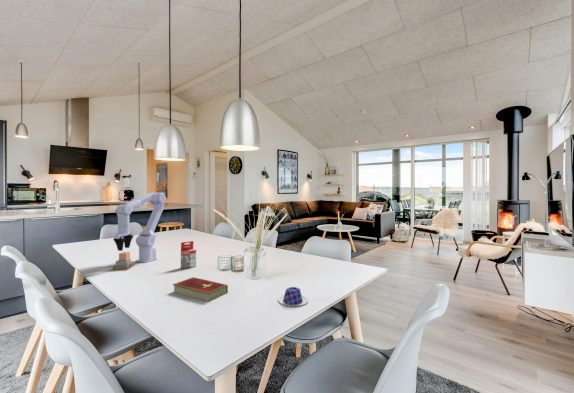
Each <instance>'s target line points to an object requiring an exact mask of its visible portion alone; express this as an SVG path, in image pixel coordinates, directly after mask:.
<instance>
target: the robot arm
mask: <svg viewBox="0 0 574 393" xmlns="http://www.w3.org/2000/svg"><path fill="white" fill-rule="evenodd" d="M166 201H167V197H166V194H165V193H164V192H149V193H147V194H145V195H143V196H142V197H139V198H138V199H136V198H131V199H130V201H127V202H124V204H118V205H117V206H116V208H115V209H114V210H115V213H116V216H117V232H116V233H115V235H114V238H112V239H113V241H114V243H115V245H116V249H117V251H119V252H122V251H124V250H123V249H124V248H125V249H130V246H131V243H132V240H133V238H134V234H133V231H132V230H130V215H131V214H132V212H134V211H135V210H137V209H139V208H141V205H143V204H145V203H148V202H149V203H150V204H151V206H152V207H153V209H152V212H151V214H150V216H149V219H148V221H147V223H146V225H145V229H144V230H142V231H141V232H140V233H139V235H138V236H137V237H136V238H135V243H136V245H137V247H138V259H136V260H135V262H139V263H149V262H152V261H156V260H157V259H158V258H157V248H156V246H155V240H156V237H157V236H156V235H155V233H154V232H155V231H156V227H157V225H158V223H159V220H160V219H161V215H162V213H163V211H164V208H165V203H166Z"/></svg>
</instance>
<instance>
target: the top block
mask: <svg viewBox="0 0 574 393" xmlns="http://www.w3.org/2000/svg"><path fill="white" fill-rule="evenodd" d="M130 263H132V258H130V259H129V260H126V261H119V259H118V260H115V265H116V266H128V265H129V264H130Z"/></svg>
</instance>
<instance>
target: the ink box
mask: <svg viewBox="0 0 574 393" xmlns="http://www.w3.org/2000/svg"><path fill="white" fill-rule="evenodd" d="M195 267H197V250H196V249H195V248H194V241H193V240H191V241H183V242H180V268H181V269H183V270H185V269H188V268H195Z"/></svg>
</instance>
